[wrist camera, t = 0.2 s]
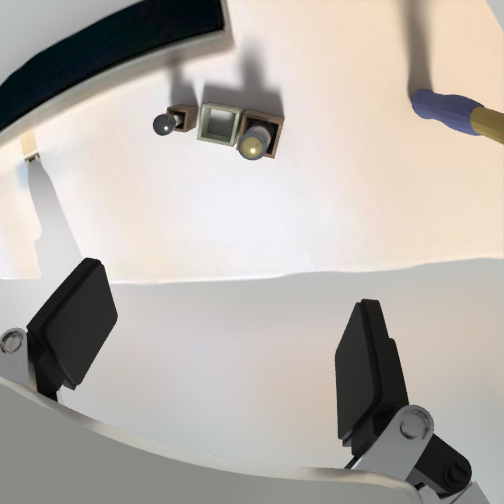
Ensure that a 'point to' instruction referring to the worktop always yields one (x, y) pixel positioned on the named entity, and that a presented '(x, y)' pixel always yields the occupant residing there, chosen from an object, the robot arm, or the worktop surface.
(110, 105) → the worktop surface
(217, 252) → the worktop surface
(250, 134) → the gray yellow-capped cylinder
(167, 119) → the round dark gray knob
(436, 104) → the rubber mallet
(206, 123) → the compartment holder
